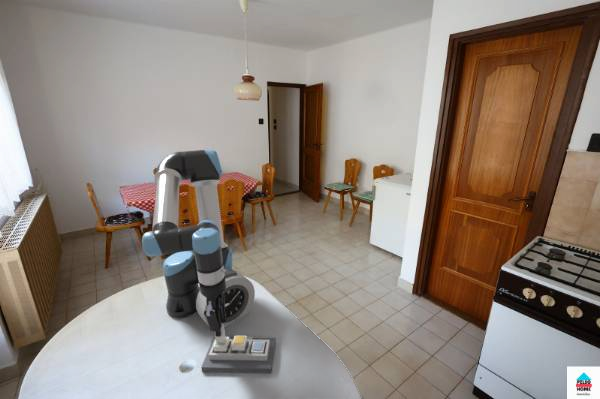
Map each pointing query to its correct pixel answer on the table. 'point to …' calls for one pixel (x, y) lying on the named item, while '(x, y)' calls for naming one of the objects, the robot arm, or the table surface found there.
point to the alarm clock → (231, 297)
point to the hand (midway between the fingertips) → (221, 340)
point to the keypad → (240, 358)
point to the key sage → (221, 345)
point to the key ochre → (239, 342)
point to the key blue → (258, 348)
